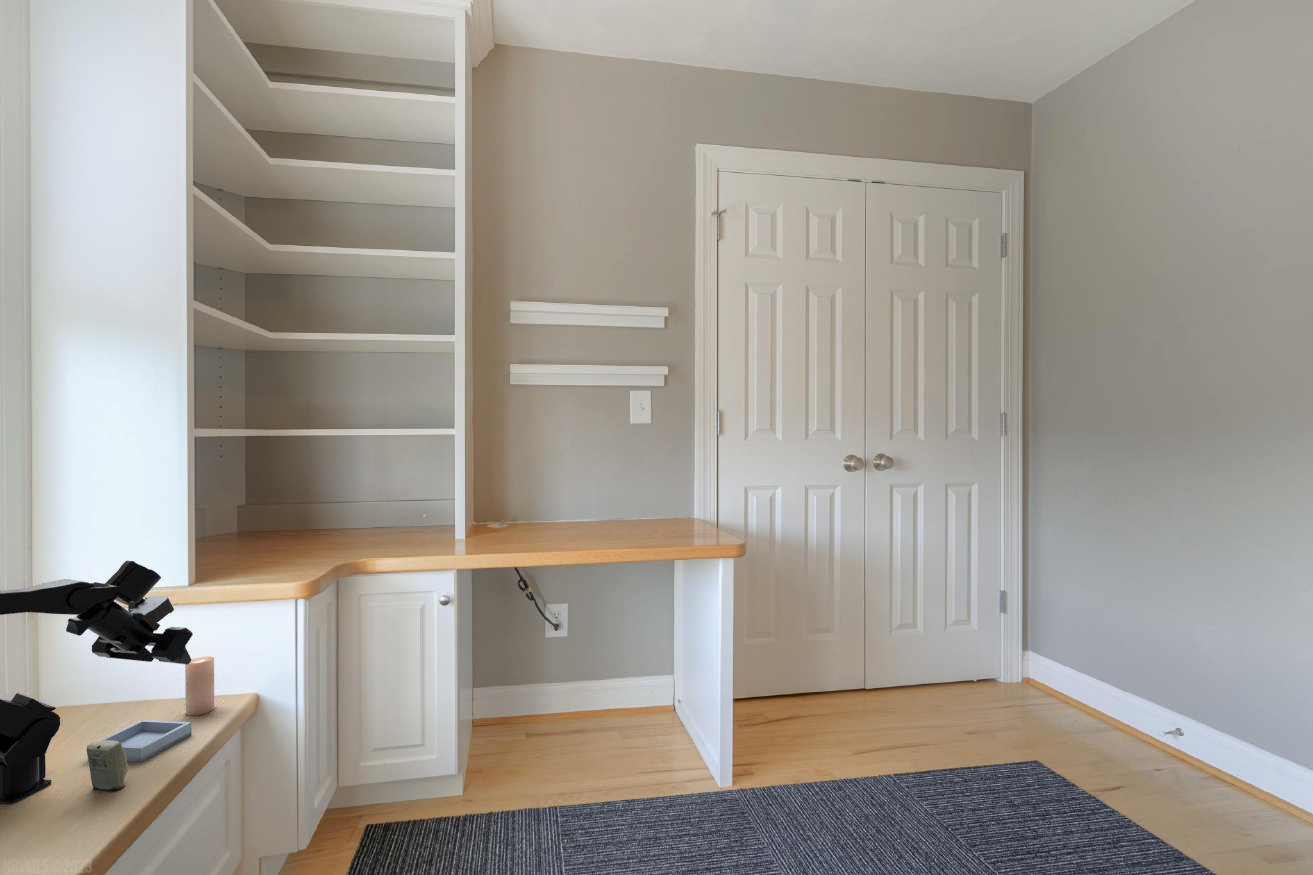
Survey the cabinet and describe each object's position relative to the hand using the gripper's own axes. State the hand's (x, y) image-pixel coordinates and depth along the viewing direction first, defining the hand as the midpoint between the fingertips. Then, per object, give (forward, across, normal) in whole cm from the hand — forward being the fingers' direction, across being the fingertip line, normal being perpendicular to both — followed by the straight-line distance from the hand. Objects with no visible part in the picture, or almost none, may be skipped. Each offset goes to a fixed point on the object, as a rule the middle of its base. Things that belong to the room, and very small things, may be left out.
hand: (170, 660), depth 133 cm
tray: (+4, -2, +15) cm, 16 cm away
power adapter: (-5, -11, +25) cm, 28 cm away
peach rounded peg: (+15, +2, +4) cm, 16 cm away
